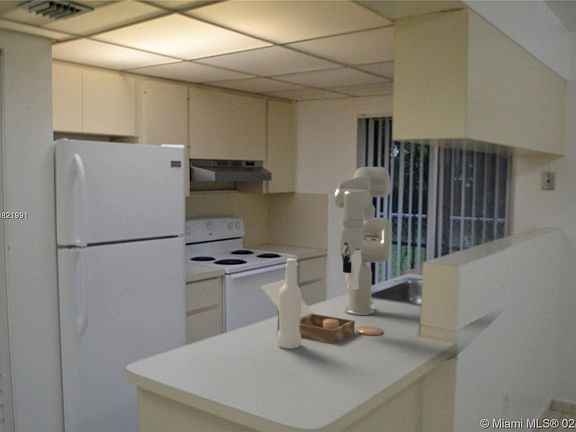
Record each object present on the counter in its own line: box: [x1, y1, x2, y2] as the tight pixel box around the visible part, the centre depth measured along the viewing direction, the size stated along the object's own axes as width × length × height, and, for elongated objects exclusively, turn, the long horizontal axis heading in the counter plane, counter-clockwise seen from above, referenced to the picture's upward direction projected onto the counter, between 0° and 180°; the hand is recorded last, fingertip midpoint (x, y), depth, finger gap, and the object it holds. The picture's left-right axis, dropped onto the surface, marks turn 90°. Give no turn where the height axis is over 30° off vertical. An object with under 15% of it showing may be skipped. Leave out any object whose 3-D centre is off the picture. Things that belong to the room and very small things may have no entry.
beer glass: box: [342, 249, 361, 291], centre depth 205 cm, size 7×7×15 cm
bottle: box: [276, 258, 303, 350], centre depth 186 cm, size 8×8×30 cm
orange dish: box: [355, 325, 383, 337], centre depth 207 cm, size 10×10×1 cm
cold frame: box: [299, 313, 356, 344], centre depth 203 cm, size 17×18×4 cm
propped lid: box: [259, 279, 314, 332], centre depth 211 cm, size 17×14×16 cm
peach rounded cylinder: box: [322, 319, 339, 330], centre depth 199 cm, size 6×6×6 cm
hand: (351, 270), depth 205 cm, fingers closed on beer glass, 6 cm apart
